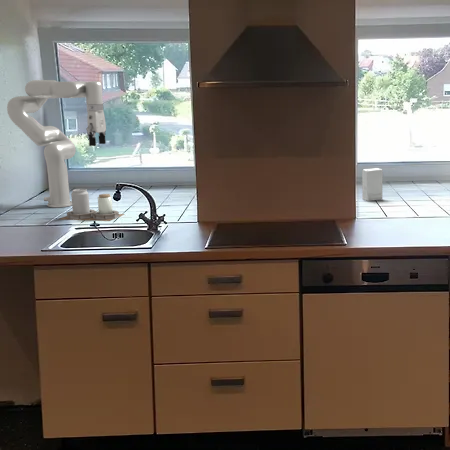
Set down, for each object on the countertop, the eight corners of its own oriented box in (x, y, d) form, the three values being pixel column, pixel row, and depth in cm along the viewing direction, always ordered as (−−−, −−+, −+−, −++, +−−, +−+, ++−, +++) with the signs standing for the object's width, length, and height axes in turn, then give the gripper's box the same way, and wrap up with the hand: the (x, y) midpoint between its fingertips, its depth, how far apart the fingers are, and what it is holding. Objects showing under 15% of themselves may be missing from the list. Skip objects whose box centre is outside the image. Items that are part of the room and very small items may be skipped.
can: (85, 218, 292) (83, 191, 289) (70, 217, 293) (67, 190, 291) (92, 214, 299) (90, 188, 296) (77, 214, 301) (75, 188, 298)
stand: (58, 221, 291) (57, 214, 291) (75, 215, 305) (74, 208, 305) (109, 223, 284) (109, 216, 283) (125, 216, 298) (124, 209, 297)
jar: (96, 218, 291) (95, 195, 288) (103, 215, 296) (101, 193, 294) (109, 218, 289) (107, 196, 287) (115, 216, 294) (113, 193, 292)
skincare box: (377, 197, 325) (377, 167, 322) (383, 199, 319) (383, 169, 316) (361, 199, 323) (361, 168, 320) (366, 201, 318) (367, 170, 314)
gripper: (93, 109, 303) (96, 146, 307) (110, 107, 320) (112, 143, 323) (78, 109, 306) (81, 146, 309) (96, 107, 322) (99, 143, 325)
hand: (97, 144), depth 316 cm, fingers open, 9 cm apart
